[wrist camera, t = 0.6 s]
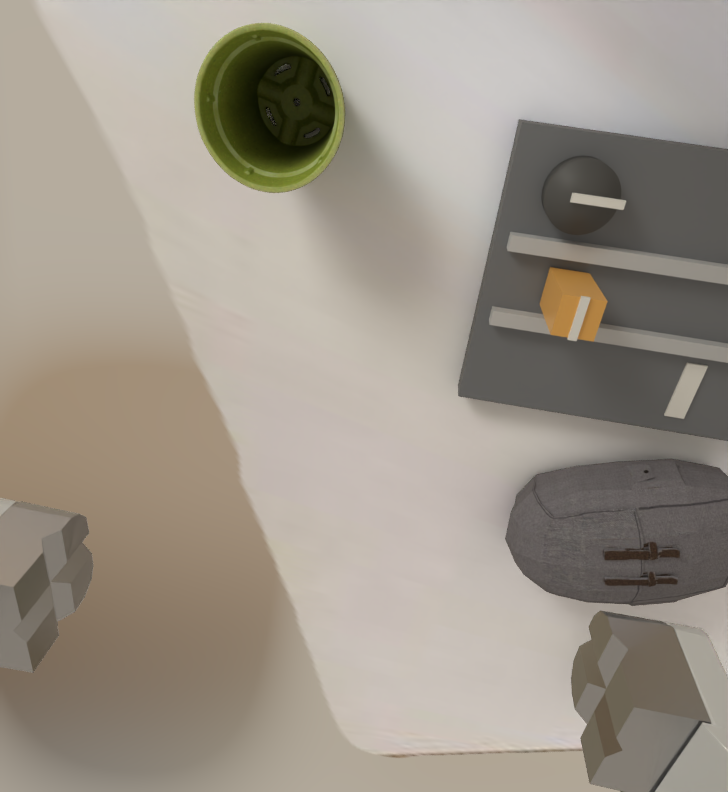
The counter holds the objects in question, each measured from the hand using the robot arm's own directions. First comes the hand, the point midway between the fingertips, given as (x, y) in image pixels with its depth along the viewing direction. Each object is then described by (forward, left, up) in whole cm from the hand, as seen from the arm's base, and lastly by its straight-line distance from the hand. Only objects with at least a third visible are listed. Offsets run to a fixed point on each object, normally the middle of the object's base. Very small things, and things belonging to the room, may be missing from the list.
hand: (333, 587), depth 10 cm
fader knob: (+7, +12, -39) cm, 41 cm away
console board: (+7, +20, -41) cm, 46 cm away
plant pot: (-3, -10, -42) cm, 43 cm away
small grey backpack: (+29, +23, -42) cm, 56 cm away
